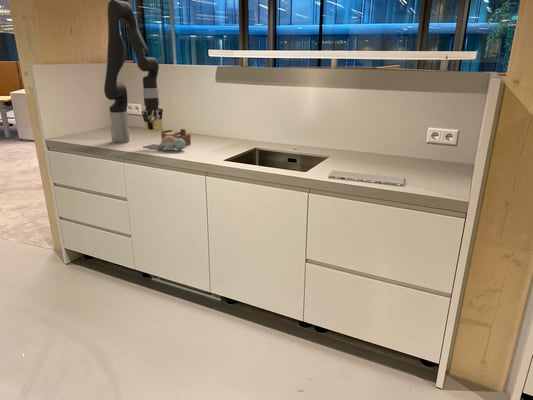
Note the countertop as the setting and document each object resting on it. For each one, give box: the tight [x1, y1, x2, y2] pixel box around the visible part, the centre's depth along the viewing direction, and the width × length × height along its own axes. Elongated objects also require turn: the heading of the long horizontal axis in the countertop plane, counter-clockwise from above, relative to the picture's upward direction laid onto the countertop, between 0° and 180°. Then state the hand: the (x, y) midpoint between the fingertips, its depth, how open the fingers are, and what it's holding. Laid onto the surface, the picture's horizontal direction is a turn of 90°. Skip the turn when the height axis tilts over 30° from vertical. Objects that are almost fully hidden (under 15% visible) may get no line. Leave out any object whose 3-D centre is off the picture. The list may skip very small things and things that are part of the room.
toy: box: [157, 136, 186, 151], centre depth 218 cm, size 12×10×15 cm
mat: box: [143, 143, 159, 151], centre depth 226 cm, size 10×8×1 cm
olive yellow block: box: [144, 117, 164, 132], centre depth 221 cm, size 8×5×7 cm, turn 60°
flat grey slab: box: [327, 170, 406, 185], centre depth 175 cm, size 31×3×12 cm
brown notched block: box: [161, 128, 192, 147], centre depth 233 cm, size 15×8×9 cm, turn 60°
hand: (153, 128), depth 222 cm, fingers closed on olive yellow block, 4 cm apart
